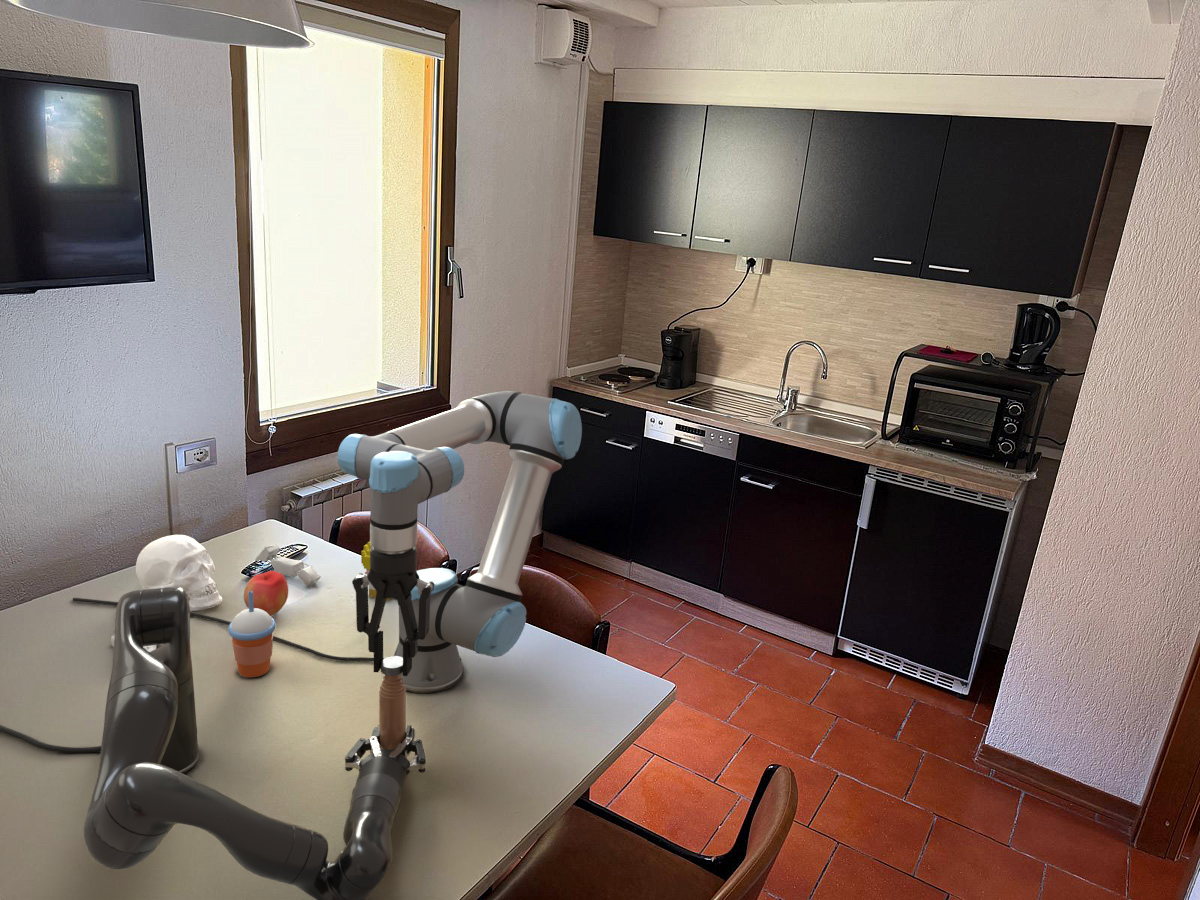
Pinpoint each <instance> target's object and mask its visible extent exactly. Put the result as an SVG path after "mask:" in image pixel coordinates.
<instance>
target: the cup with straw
mask: <svg viewBox="0 0 1200 900" xmlns="http://www.w3.org/2000/svg"><path fill="white" fill-rule="evenodd" d="M248 600H249V609H248V608H245V609H244V610H241V611H240V612H238V613H237V614H236V615H235V616H234V618H233V619H232V620H231V621H230V622H231V623H230V625H228V626H227V632H228V635H229V636H230V637H231V638H232V639H231V642H232V650H233V654H234V655H233V656H234V660H235V662H236V666H237V672H238V674H239V675H240V676H242V677H243V678H257V677H261V676H263V675H265V674H267V673H268V672H269V671H270V669H271V660H272V658H271V657H272V656H273V655H272V654H273V643H274V642H273V641H274V640H273V636H274V634H273V633H274V631H275V630H276V627H277V625H276V620H275V618H273V616H270V615H269V614H268V613H267V612H265V611H264V610H261V609H258V608H254V607H253V591H249V592H248Z"/></svg>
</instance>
